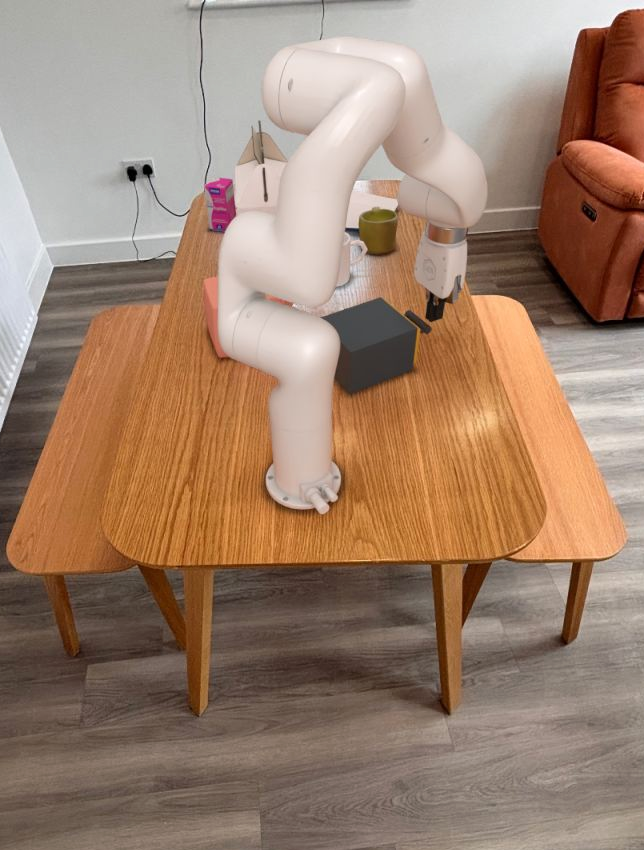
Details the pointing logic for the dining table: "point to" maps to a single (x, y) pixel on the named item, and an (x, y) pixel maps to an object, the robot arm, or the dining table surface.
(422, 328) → the yellow drawer
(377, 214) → the mug
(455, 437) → the dining table surface
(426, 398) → the dining table surface
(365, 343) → the cabinet
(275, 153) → the paper bag
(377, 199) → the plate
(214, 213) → the supplement box
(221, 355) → the teapot
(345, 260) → the mug
